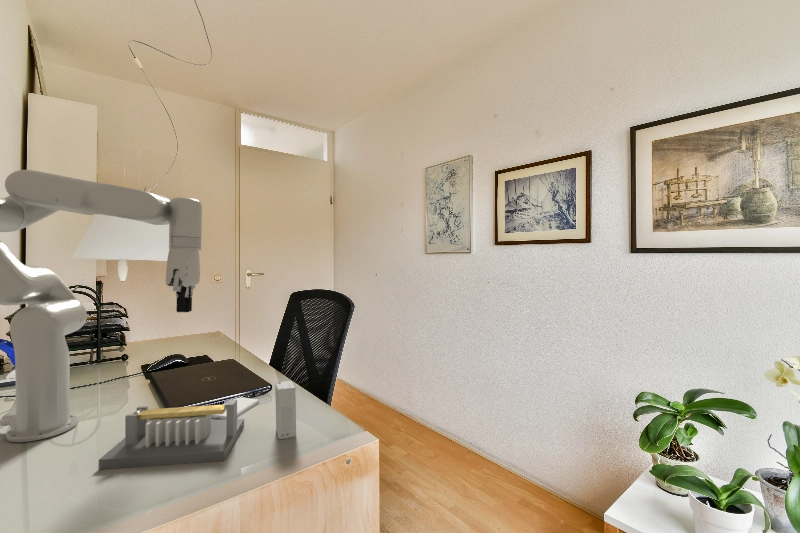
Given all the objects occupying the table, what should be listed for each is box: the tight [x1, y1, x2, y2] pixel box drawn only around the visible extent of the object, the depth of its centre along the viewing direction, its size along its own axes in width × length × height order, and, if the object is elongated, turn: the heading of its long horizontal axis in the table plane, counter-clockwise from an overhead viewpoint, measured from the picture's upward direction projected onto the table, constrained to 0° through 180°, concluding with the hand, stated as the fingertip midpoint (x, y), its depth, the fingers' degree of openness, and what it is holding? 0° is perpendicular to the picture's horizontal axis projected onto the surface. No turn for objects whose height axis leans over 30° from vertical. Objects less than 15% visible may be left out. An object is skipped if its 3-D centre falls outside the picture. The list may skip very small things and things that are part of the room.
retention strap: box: [132, 404, 226, 420], centre depth 83 cm, size 20×3×2 cm, turn 99°
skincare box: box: [274, 380, 297, 440], centre depth 90 cm, size 6×4×12 cm
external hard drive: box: [211, 396, 260, 420], centre depth 103 cm, size 2×8×12 cm
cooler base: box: [98, 399, 245, 470], centre depth 83 cm, size 24×16×10 cm, turn 99°
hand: (184, 311), depth 98 cm, fingers closed
